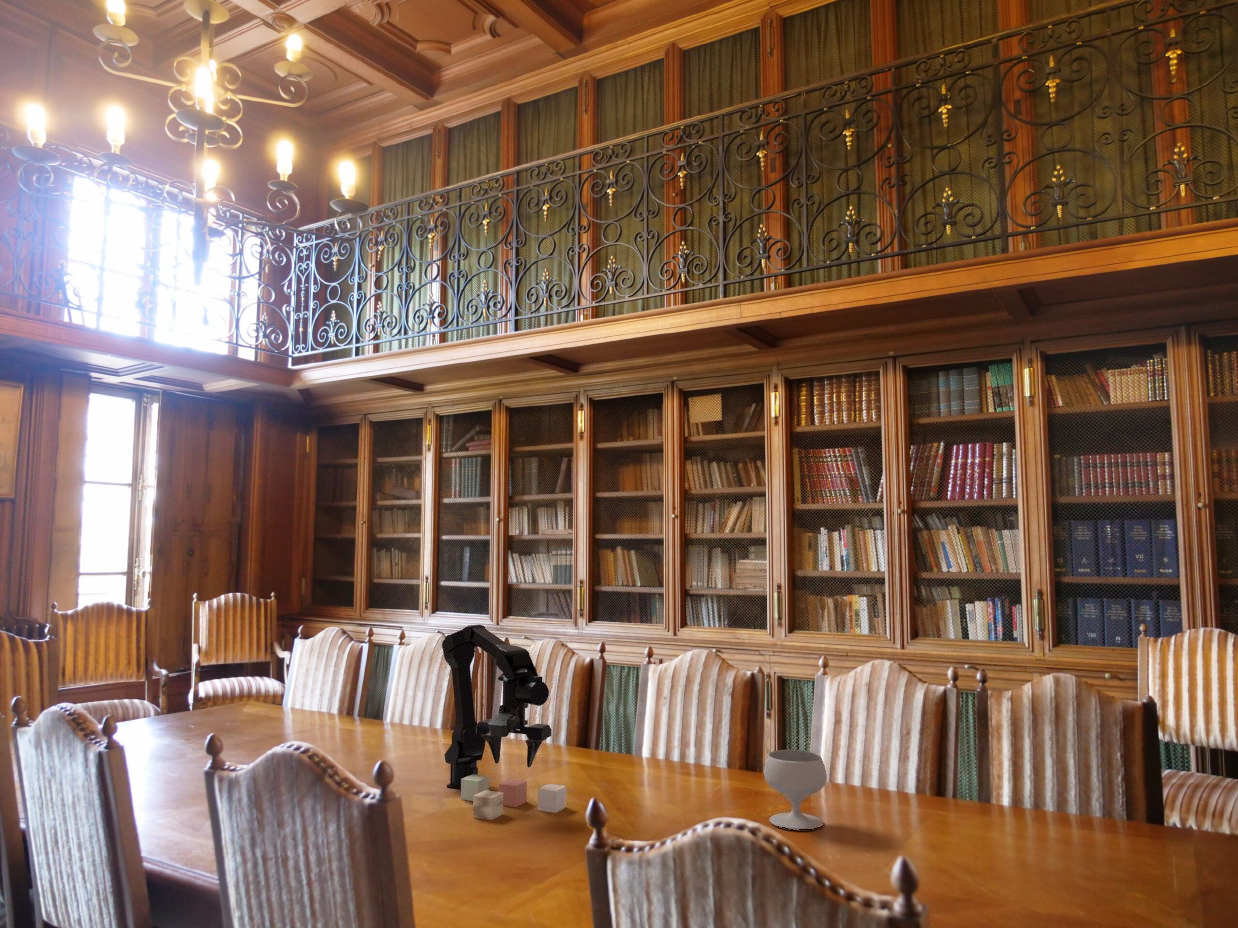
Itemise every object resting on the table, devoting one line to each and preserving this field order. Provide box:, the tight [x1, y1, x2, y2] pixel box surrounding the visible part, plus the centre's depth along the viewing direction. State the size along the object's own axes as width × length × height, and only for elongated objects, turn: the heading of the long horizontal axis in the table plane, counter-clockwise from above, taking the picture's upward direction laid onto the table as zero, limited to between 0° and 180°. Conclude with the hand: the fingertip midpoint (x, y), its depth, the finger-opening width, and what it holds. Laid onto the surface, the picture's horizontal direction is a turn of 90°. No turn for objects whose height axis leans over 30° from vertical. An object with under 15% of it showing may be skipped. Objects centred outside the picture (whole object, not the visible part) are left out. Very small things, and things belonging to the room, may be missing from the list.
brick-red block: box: [498, 778, 528, 808], centre depth 206 cm, size 5×5×5 cm
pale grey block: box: [537, 783, 567, 814], centre depth 201 cm, size 5×5×5 cm
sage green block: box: [460, 774, 490, 802], centre depth 210 cm, size 5×5×5 cm
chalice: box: [763, 749, 828, 831], centre depth 191 cm, size 14×14×15 cm
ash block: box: [472, 790, 504, 821], centre depth 196 cm, size 5×5×5 cm
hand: (512, 764), depth 207 cm, fingers open, 9 cm apart
